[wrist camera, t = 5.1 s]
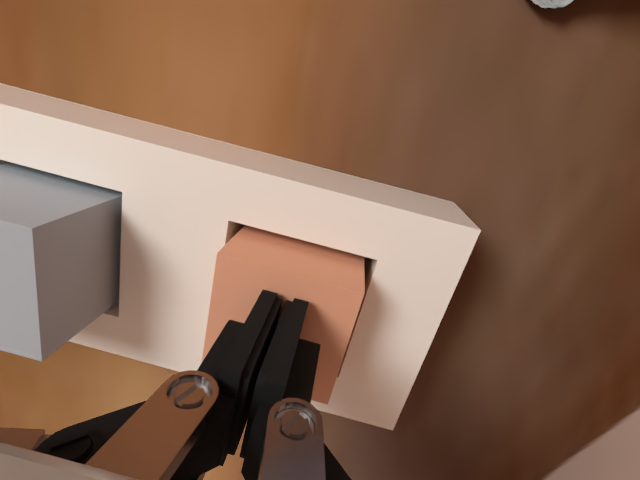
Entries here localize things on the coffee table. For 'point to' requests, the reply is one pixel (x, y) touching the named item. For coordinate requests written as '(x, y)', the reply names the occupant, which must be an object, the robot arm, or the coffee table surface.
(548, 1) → the snack package
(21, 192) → the slate-grey button
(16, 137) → the button console
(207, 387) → the robot arm
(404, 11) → the coffee table surface
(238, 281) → the terracotta button
